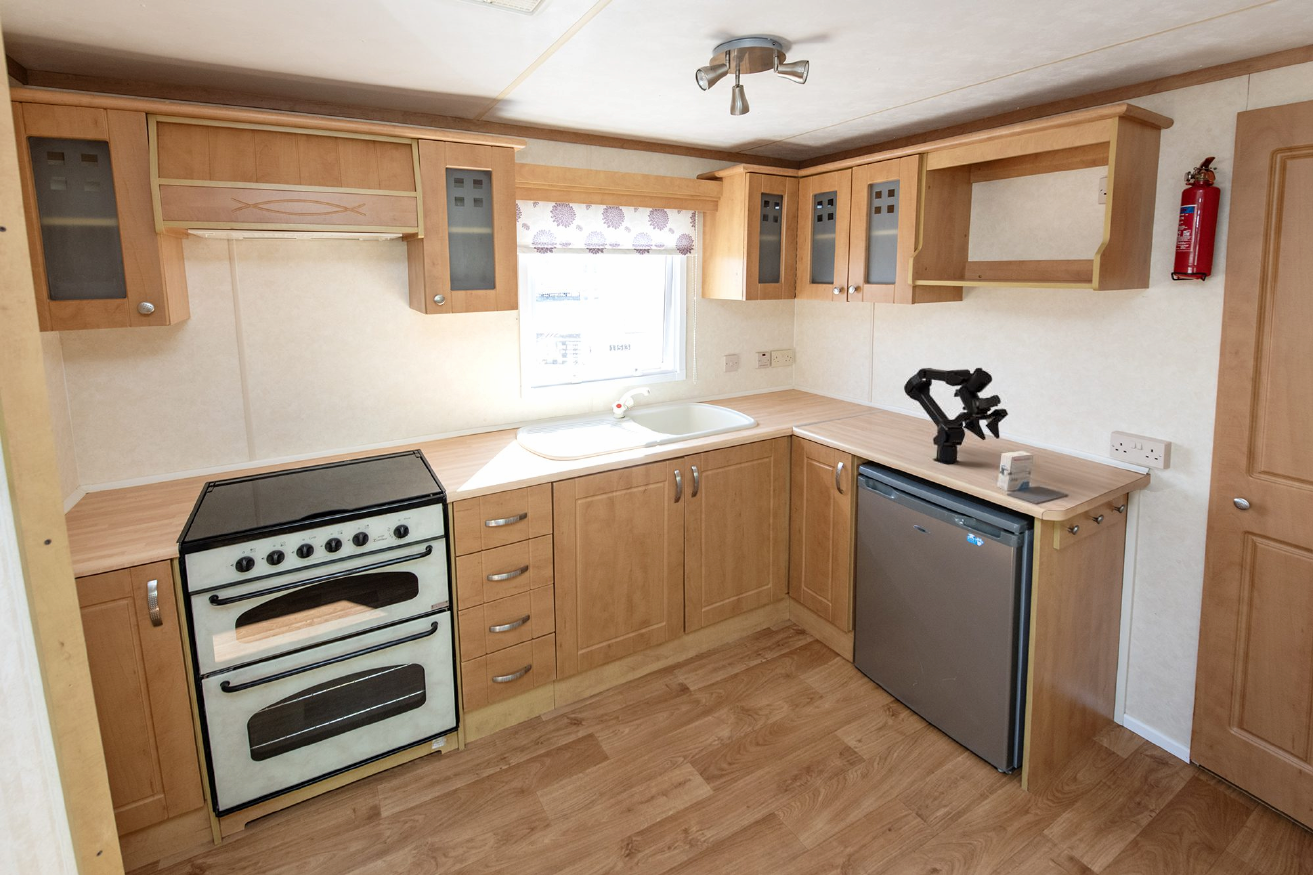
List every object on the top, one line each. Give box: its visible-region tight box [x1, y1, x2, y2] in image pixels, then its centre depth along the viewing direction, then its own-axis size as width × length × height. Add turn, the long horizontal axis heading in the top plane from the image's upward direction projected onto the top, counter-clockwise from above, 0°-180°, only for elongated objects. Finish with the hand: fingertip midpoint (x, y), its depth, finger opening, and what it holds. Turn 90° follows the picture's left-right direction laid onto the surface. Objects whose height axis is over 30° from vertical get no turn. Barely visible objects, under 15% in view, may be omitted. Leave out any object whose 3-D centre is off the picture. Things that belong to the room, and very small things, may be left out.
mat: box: [1006, 485, 1069, 505], centre depth 230 cm, size 10×16×1 cm, turn 119°
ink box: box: [997, 450, 1034, 492], centre depth 235 cm, size 9×5×12 cm, turn 106°
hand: (991, 438), depth 244 cm, fingers open, 5 cm apart
